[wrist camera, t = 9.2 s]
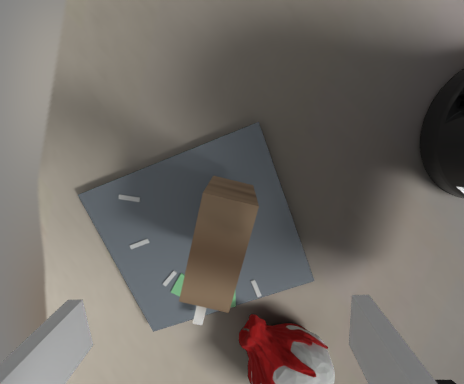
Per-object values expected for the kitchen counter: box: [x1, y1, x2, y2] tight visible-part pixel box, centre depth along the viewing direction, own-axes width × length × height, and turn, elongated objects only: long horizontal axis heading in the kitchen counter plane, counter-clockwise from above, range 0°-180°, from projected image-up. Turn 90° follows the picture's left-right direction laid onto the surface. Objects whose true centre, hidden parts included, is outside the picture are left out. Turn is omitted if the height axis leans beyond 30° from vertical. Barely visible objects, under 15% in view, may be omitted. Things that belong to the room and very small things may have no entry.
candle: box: [239, 314, 335, 384], centre depth 29 cm, size 9×11×15 cm
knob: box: [179, 176, 259, 325], centre depth 24 cm, size 18×5×10 cm, turn 166°
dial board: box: [78, 122, 314, 332], centre depth 29 cm, size 22×20×1 cm
